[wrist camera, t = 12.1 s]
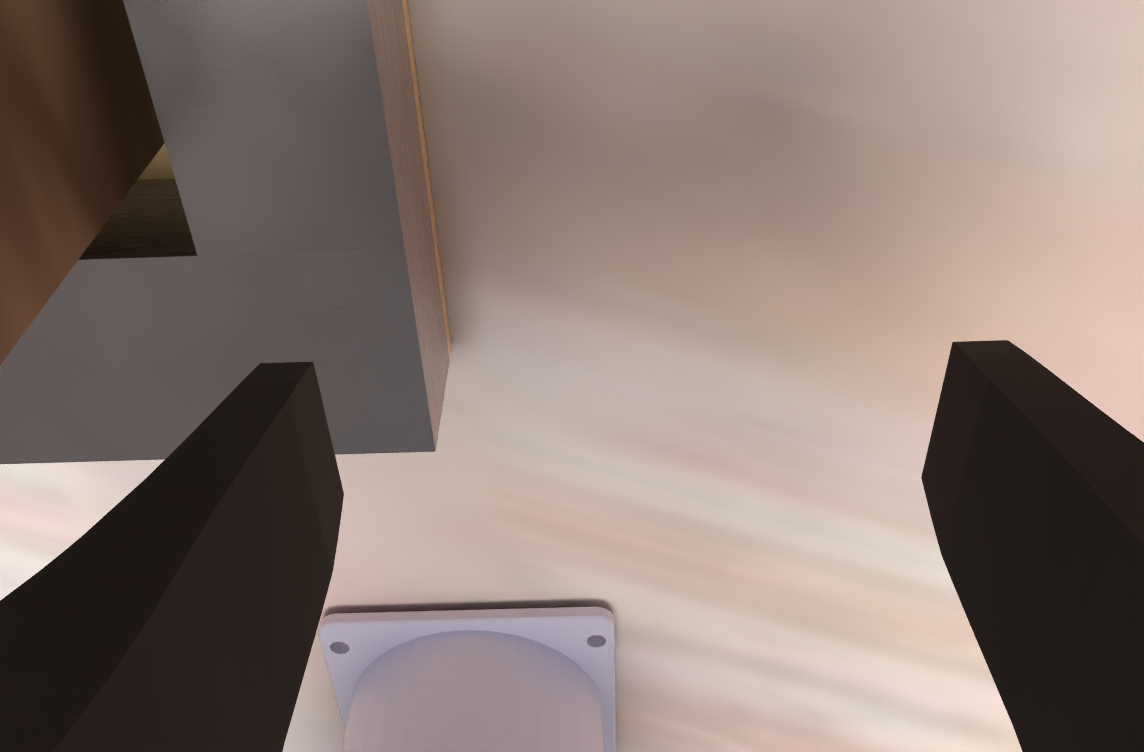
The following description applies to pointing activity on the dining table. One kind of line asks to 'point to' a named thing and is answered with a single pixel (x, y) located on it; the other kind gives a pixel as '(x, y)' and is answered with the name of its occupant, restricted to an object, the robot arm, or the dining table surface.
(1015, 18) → the dining table surface
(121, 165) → the peg
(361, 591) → the dining table surface
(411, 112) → the block
